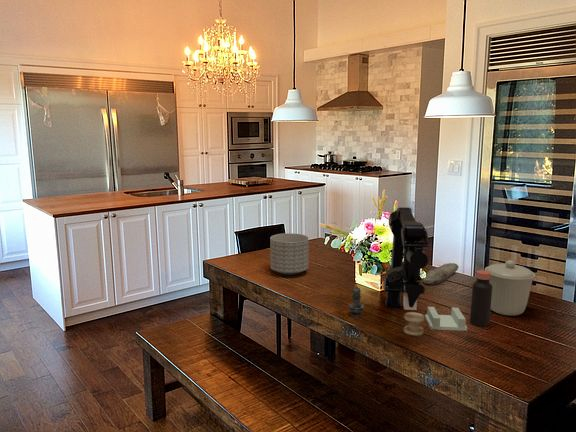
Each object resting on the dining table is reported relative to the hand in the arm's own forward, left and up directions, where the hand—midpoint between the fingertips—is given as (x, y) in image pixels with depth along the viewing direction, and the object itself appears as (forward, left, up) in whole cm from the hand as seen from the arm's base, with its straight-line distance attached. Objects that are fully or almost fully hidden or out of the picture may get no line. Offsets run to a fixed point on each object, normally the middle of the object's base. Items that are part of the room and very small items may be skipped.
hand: (410, 304), depth 163 cm
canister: (-29, +43, -13) cm, 54 cm away
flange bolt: (-20, -17, -13) cm, 30 cm away
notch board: (-14, +16, -13) cm, 25 cm away
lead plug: (0, 0, -1) cm, 1 cm away
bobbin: (-6, +3, -13) cm, 14 cm away
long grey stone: (-72, +27, -13) cm, 78 cm away
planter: (-70, -48, -13) cm, 86 cm away
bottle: (-16, +29, -13) cm, 36 cm away
